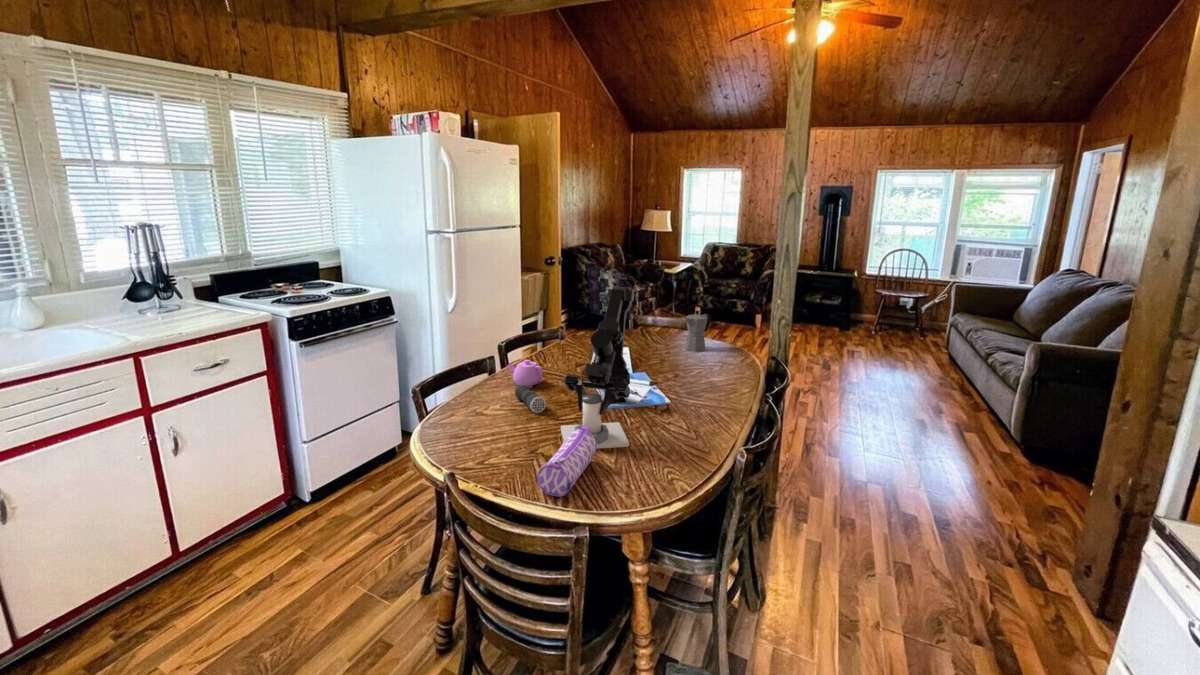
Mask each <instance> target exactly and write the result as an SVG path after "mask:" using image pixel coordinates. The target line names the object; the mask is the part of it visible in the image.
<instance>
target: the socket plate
mask: <svg viewBox="0 0 1200 675" xmlns="http://www.w3.org/2000/svg"><path fill="white" fill-rule="evenodd" d="M582 426H583V422H582V423H579V424H568V425H565V424H564V425H560V432H561V435H562V440H563V441H562V442H564V441H565V440H566V439H567V438H568V437H569V435H570V433H571V432H572V431H574V430H575V429H581V427H582ZM593 437H594V438H595V441H596V446H597V447H596V450H597V449H611V448H613V449H614V448H625V447H626V448H627V447H630V442H629V440H628V437H627V436H626V433H625V432H624V429H623V427H622V425H621V423H620V421H619V422H618V421H617V422H616V421H615V422H601V433H600V434H595V435H593Z"/></svg>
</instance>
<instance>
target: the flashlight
mask: <svg viewBox="0 0 1200 675" xmlns="http://www.w3.org/2000/svg"><path fill="white" fill-rule="evenodd" d="M514 394H515V397H516V398H517V399H518V400H519V401H522V402H524V404H525V406H526V407H527V408H528V409H529V410H531V411H532V412H533V413H535V414H538V413H542V412H543V411H545V409H546V407H547V401H546V399H545V398H544V397H542V396H541V395H540V394H537V393H536V392H533V391H532V390H531V388H529V387H528V386H526V385H519V386H517V385H516V387H515V389H514Z"/></svg>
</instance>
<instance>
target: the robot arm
mask: <svg viewBox="0 0 1200 675" xmlns="http://www.w3.org/2000/svg"><path fill="white" fill-rule="evenodd" d="M634 299H635V291H634V290H633V289H632V288H631V287H624V286H623V287H622V286H613V287H611V288H610V289H609V288H608V289H607V299H606V300H607V301H608V302H607V307H606V311H605V315H604V319H603V320H601V321H600V322H599V323H598V327H597V329H596V330H595V332H594V333H593V334H592V335H591V337H590V344H591V347H592V350H593V353H594V358H593V362H591V363H585V365H584V366H585V367H584V373H583V375H584V376H585V378H586V379H587V380H583V379H581V377H580V375H577V374H567V375H566V376H565V377H564V381H563V383H564V385H565V386H566V388H567V390H569V391H573V392H575V393H576V394H577V401H578V403H577V405H578V411H579V413H582V412H583V401H582V396H583V395H585V394H587V392H586V388H587V389H588V388H589V389H595V390H602V391H603V400H602V402H601V409H600V415H601V416H603V414H604V413H605V412H606V410H607V409H608V408H609V407H610V405H611V404H619V403H618V402H624V403H627V399H629V398H630V394H631V389H630V386H629V385H630V383H631V376H630V372H629V369H628V367H627V362H626V360H625V358H624V346H625V345H624V343H625V335H626V334H625V333H626V332H625V331H626V320H627V314H628V312H629V311H630V309H631V307H632V303H633V302H634ZM616 402H617V403H616Z"/></svg>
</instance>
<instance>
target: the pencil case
mask: <svg viewBox="0 0 1200 675" xmlns="http://www.w3.org/2000/svg"><path fill="white" fill-rule="evenodd" d="M589 430H590V427H587V426H582V427H581V429H575V430H574V431H572V432H571V433H570V435H569V437H568V438H567V439H566V440H565V441H563V443H562V444H561V446H560V447H559V448H558V450H557V451H556V453H555V454H554V455H553V456H552V457H551V458H550V459H549V461H548V462H546V463H544V464H543V465H542V466H540V468H539V469H538V470H537V475H536V480H537V485H538V487H539V488H540V490H541V491H542V492H543V493H544V494H547V495H548V496H552V497H565V496H566V495H567V494H568V493H569V492H570V491H571V489H572V487H573V486H574V485H575V483H576V482H577V480H578V479H579V478H580V476H581V475H582V474H583V472H584V471H585V470H586V469H587V467H588V466H589V464H590V463H591V461H592V459H593V458H594V456H595V454H596V453H597V449H596V447H597V446H596V441H595V438H594V437H593V435H592V434H591V433H589Z"/></svg>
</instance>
